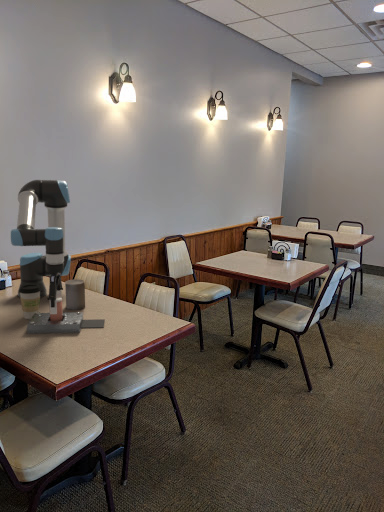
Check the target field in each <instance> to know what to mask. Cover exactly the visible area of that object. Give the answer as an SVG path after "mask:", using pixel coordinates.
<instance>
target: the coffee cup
mask: <svg viewBox="0 0 384 512" xmlns="http://www.w3.org/2000/svg"><path fill="white" fill-rule="evenodd" d="M18 290H19V292H20V296H21V297H19V298H20V304H21V309H22V310H21V311H22V313H23V318H24V319H25V320H30V319H31V318H32V316H33V315H34V313H37V312H39V310H40V300H41V299H40V298H41V297H40V291H41V288H40V287H39V285H35V284H28V285H23V286H21V287H20V289H19V288H18Z"/></svg>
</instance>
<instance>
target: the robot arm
mask: <svg viewBox="0 0 384 512" xmlns="http://www.w3.org/2000/svg"><path fill="white" fill-rule="evenodd" d="M17 201H18V203H19V204H18V215H17V221H16V222H17V224H16V228H15V229H11V230H10V244H11V245H12V246H14V247H30V246H31V247H33V246H34V247H40V246H41V247H44V246H45V254H44V255H43V253H42V252H31V253H26V254H24V255H22V256H20V259H19V271H20V283H19V286H18V290H17V296H18V297H19V298H20V297H21V296H20V292H19V289H20V287H21V286H23V285H28V284H35V285H39V287H40V288H41V291H40V298H42V297H45V296H46V295H47V294H48V297H47V301H49V313H50V314H57V299H56V298H62V291H63V290H64V287H63V283H62V276H65V277H66V276H68V275H69V274H70V269H71V262H72V260H71V259H72V257H71V254H69V252H68V250H67V249H66V226H65V220H66V219H65V209H66V208H67V207H68V204H70V203H71V200H70V193H69V187H68V182H67V181H65V180H59V179H58V180H57V179H55V180H54V179H53V180H51V179H34V180H31V181H29V182H27V183H25V184H24V185H23V186H22V187H21V188H20V189H19V192H18V194H17ZM38 203H43V204H44V207H45V209H47V227H46V228H37V229H36V228H35V223H36V207H37V205H38ZM44 277H49V286H48V287H49V289H48V290H47V288H46V287H47V286H46V285H45V282H44ZM47 291H48V292H47ZM62 299H63V298H62Z"/></svg>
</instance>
